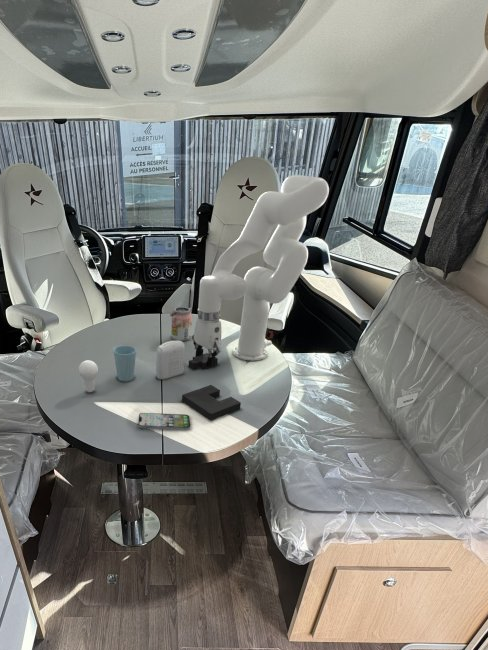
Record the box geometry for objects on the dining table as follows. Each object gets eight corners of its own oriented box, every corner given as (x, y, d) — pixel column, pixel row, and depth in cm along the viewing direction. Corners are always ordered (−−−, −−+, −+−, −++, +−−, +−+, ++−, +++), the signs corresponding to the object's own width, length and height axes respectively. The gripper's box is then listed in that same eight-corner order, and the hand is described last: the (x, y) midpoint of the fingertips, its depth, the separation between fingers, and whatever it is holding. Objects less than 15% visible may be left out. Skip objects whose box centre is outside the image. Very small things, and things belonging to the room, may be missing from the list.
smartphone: (190, 428, 126) (138, 426, 126) (190, 431, 127) (138, 429, 127) (189, 414, 132) (139, 412, 132) (188, 417, 133) (139, 415, 133)
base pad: (210, 391, 146) (210, 384, 144) (240, 409, 136) (241, 402, 135) (181, 401, 140) (182, 394, 139) (210, 421, 131) (211, 414, 129)
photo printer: (178, 369, 159) (179, 336, 152) (185, 373, 156) (187, 340, 149) (154, 376, 154) (154, 343, 147) (161, 381, 151) (161, 347, 144)
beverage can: (166, 335, 185) (167, 306, 178) (184, 332, 187) (185, 304, 180) (176, 343, 178) (177, 314, 171) (194, 340, 181) (196, 311, 174)
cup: (138, 373, 156) (137, 345, 150) (134, 383, 150) (134, 355, 144) (117, 372, 157) (115, 344, 151) (113, 382, 151) (111, 353, 145)
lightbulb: (102, 389, 147) (100, 358, 140) (94, 397, 142) (92, 366, 135) (85, 386, 148) (83, 355, 142) (77, 394, 144) (74, 363, 137)
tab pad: (206, 359, 166) (207, 352, 165) (217, 364, 162) (217, 358, 161) (185, 365, 161) (186, 359, 160) (196, 371, 157) (196, 365, 156)
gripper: (234, 319, 148) (228, 369, 158) (200, 305, 159) (197, 352, 170) (217, 324, 144) (212, 374, 155) (184, 309, 156) (182, 357, 166)
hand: (204, 362), depth 162 cm, fingers closed on tab pad, 6 cm apart
